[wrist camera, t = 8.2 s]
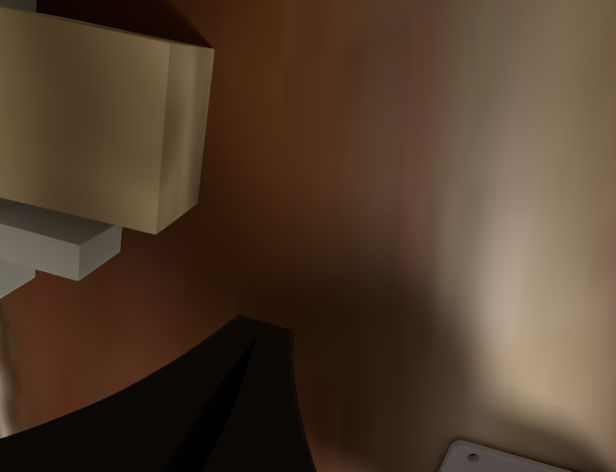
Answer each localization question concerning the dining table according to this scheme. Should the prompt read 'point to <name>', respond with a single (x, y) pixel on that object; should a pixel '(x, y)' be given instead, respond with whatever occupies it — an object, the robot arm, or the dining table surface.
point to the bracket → (49, 233)
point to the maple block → (101, 120)
